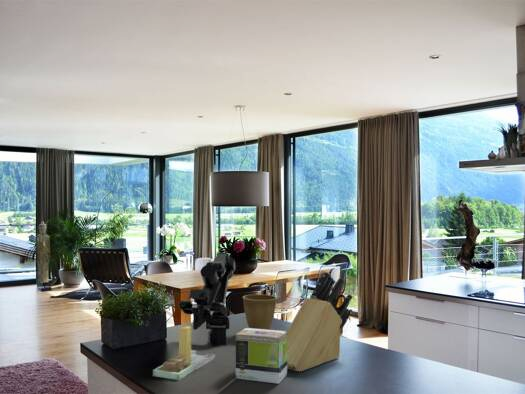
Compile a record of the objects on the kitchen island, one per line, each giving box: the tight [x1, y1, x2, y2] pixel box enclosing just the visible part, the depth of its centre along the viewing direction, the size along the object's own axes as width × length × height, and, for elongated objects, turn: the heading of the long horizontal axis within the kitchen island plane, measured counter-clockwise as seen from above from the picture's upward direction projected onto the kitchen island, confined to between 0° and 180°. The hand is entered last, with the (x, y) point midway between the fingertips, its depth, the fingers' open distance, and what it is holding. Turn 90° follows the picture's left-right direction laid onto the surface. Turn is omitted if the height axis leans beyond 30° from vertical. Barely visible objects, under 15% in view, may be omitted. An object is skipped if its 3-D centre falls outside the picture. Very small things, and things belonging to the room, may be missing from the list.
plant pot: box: [242, 294, 278, 330], centre depth 219 cm, size 15×15×16 cm
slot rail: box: [188, 349, 216, 372], centre depth 175 cm, size 16×10×3 cm, turn 159°
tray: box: [152, 364, 194, 381], centre depth 163 cm, size 10×10×3 cm
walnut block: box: [162, 358, 181, 373], centre depth 162 cm, size 4×4×4 cm
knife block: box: [286, 271, 354, 373], centre depth 183 cm, size 11×35×31 cm, turn 136°
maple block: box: [170, 355, 187, 372], centre depth 166 cm, size 4×4×4 cm
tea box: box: [235, 327, 288, 384], centre depth 164 cm, size 15×10×15 cm, turn 71°
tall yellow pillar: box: [178, 325, 192, 367], centre depth 170 cm, size 4×5×13 cm
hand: (194, 329), depth 179 cm, fingers closed
